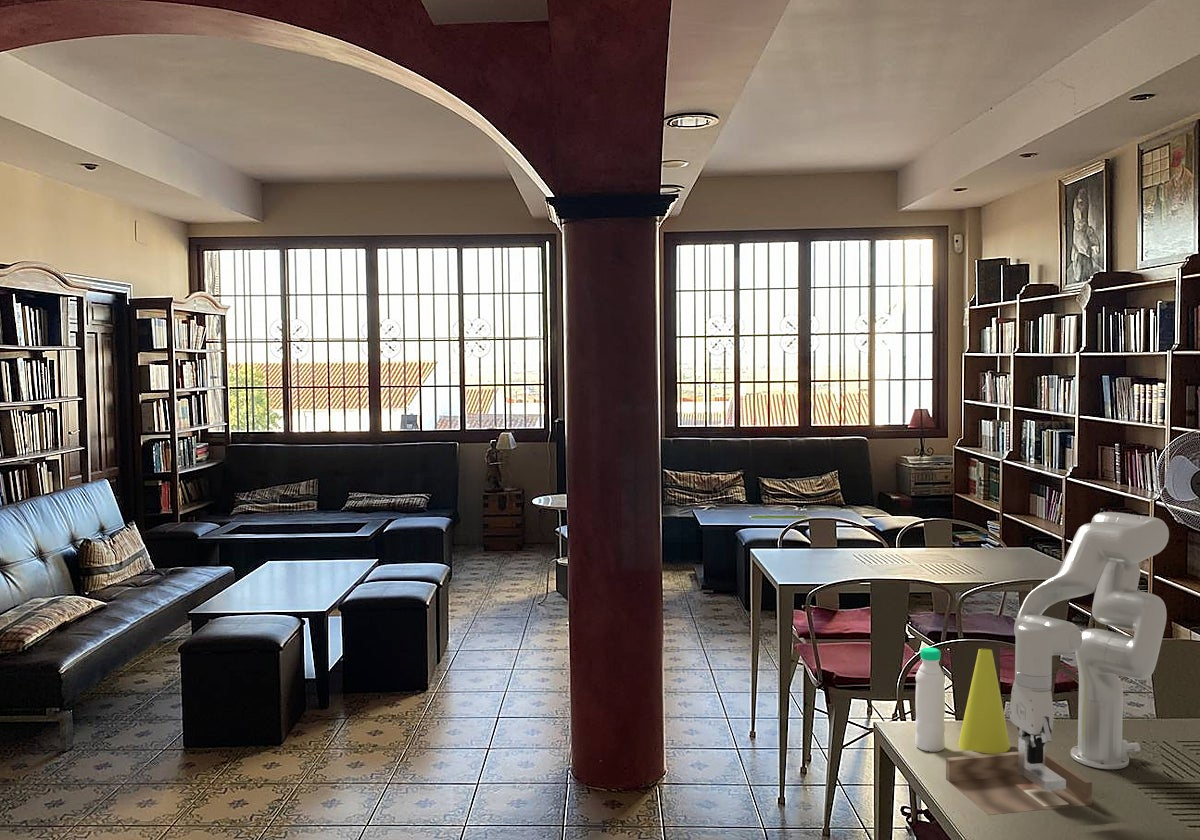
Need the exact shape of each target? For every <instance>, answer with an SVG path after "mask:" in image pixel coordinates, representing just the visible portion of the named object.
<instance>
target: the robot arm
mask: <svg viewBox="0 0 1200 840" xmlns="http://www.w3.org/2000/svg"><path fill="white" fill-rule="evenodd" d="M1169 538H1170V530H1169V527H1168V526H1167V524H1166V523H1165V521H1164V520H1163V519H1160V518H1158V517H1153V516H1148V515H1146V516H1145V515H1137V514H1131V513H1125V512H1117V511H1116V512H1115V511H1104V512H1098V513H1096V514H1095V515H1093V517H1092V518H1091V522H1088V523H1084V524H1083V525H1081V526H1080V527H1078V529H1077V531H1076V533H1075V534H1074V536H1073V540H1072V541H1071V544H1070V546H1069V548H1068V550H1067V553H1066V554H1065V557H1064V559H1063V562H1062V563H1061V565H1060V568H1059V570H1058V572H1057V573H1056V574H1055V575H1054V576H1052V577H1050V578H1048V579H1046V580H1045V581H1043V582H1042V583H1041V584H1039V585H1037V586H1036V587H1035V588H1034V589H1032V590H1031V591H1030V592H1029V593H1028V594H1027V596H1026V597H1025V598H1024V600H1023V603H1022V604H1021V606H1020V609H1019V611H1018V613H1017V616H1016V618H1015V621H1014V626H1013V632H1014V633H1013V634H1014V636H1015V648H1014V649H1015V651H1014V653H1015V654H1014V655H1015V658H1014V660H1015V661H1014V680H1013V684H1012V688H1011V693H1010V704H1009V721H1010V722H1011V723H1012V724H1013V725H1015V726H1016V727H1017V730H1018V738H1019V737H1025V736H1031V746H1029V761H1028V762H1029V763H1030V764H1038V763H1043V747H1044V746H1045V743H1046V744H1047V743H1052V742H1053V740H1052V736H1051V734H1052V733H1053V730H1054V705H1053V694H1052V687H1053V686H1052V683H1053V681H1052V680H1053V679H1052V678H1053V656H1066V655H1067V656H1068V655H1071V654H1073V653H1075V659H1076V664H1077V670H1078V715H1077V716H1078V717H1077V718H1078V719H1077V720H1078V721H1077V723H1078V724H1077V745H1075V746H1072V748H1071V749H1070V756H1071V757H1072V759H1073V760H1075V761H1076V762H1078V763H1080V764H1082V765H1085V766H1088V767H1091V768H1095V769H1102V770H1120V769H1124V768H1126V767H1128V766H1129V764H1130V758H1129V756H1128V755H1127V754H1129V752H1139V751H1141V745H1140V743H1139V742H1128V740H1127V739H1124V740H1123V719H1124V717H1123V715H1124V713H1123V711H1124V708H1123V707H1124V689H1123V686H1122V683H1121V680H1120V679H1119V677H1118V676H1121V677H1125V678H1128V679H1134V680H1138V681H1139V680H1140V681H1143V680H1147V679H1149V678H1150V677H1151V676H1152V675H1153V673H1154V671H1155V669H1156V667H1157V662H1158V660H1159V659H1158V658H1159V653H1160V650H1161V645H1162V642H1163V637H1164V634H1165V633H1164V632H1165V628H1166V625H1167V616H1168V615H1167V614H1168V613H1167V608H1166V604H1165V602H1164V600H1163V599H1162V598H1161V597H1160V596H1158V595H1156V594H1154V593H1150V592H1146V591H1141V590H1140V591H1139V590H1138V587H1139V582H1140V578H1141V568H1140V565H1139V563H1141V562H1143V561H1145V560H1147V559H1149V558H1152V557H1154V556H1156V555H1158V554H1160V553H1161V552H1162V551H1163V550H1164V549H1165V548H1166V546H1167V544H1168V542H1169ZM1094 592H1095V594H1094V596H1093V601H1092V607H1091V615H1092V617H1093V618H1094V620H1096V622H1098V623H1100V624H1103V625H1106V626H1108V627H1109V626H1110V627H1113V628H1116V629H1117V628H1118V629H1121V630H1128V631H1132V632H1134V633H1133V635H1134V636H1132V635H1127V634H1123V633H1119V632H1115V631H1110V630H1107V629H1101V628H1087V629H1084V630H1081V629H1080V628H1079V626H1078V625H1076V624H1074V623H1073V622H1072V621H1071V622H1070V621H1067V620H1063V619H1059V618H1055V617H1050V616H1047V615H1043V613H1044V612H1045V611H1046V610H1047V609H1048V608H1049V607H1050V606H1053V605H1054V604H1056V603H1058V602H1061V601H1065V600H1071V599H1075V598H1079V597H1083V596H1087V595H1090V594H1093V593H1094ZM1036 736H1040V737H1038V738H1037V739H1036ZM1045 747H1046V746H1045Z"/></svg>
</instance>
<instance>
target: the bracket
mask: <svg viewBox="0 0 1200 840" xmlns="http://www.w3.org/2000/svg"><path fill="white" fill-rule="evenodd" d="M1038 737H1040V736H1036V739H1037V738H1038ZM1017 744H1018V745H1017V746H1018V747H1017V748H1018V749H1017V750H1018V751H1017V752H1018V772H1019V773H1020V774H1022V775H1023V776H1024V777H1026V778H1027V779H1029V780H1030V781H1032V782H1033V783H1034V784H1036V785H1037V786H1039V787H1040V788H1041V789H1043V790H1044V791H1048V790H1060V789H1066V780H1065V779H1064V778H1062V777H1061V776H1059V775H1058V774H1056V773H1055V772H1053V771H1052V770H1050V769H1049V768H1047V767H1046V766H1045V752H1046V744H1047V742H1046V743H1045V746H1044V747H1043V763H1038V764H1030V763H1029V762H1028V761H1029V746H1031V736H1025V737H1019V736H1018V743H1017Z"/></svg>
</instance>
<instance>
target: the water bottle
mask: <svg viewBox="0 0 1200 840" xmlns="http://www.w3.org/2000/svg"><path fill="white" fill-rule="evenodd" d="M919 655H920V659H921V661H922V663H921V664H920V666H919V667H918V669H917V671H916V674H915V720H914V721H915V723H914V724H915V727H914V728H915V736H914V744H915V746H916V747H917V748H918V749H919V750H921V751H925V752H928V751H929V752H930V753H937V752H938V753H939V752H940V751H943V750H944V749H945V746H946V738H945V730H946V724H945V723H946V722H945V714H946V688H945V685H946V676H945V674H944V671H942V667H941V666H940V664H939V663H940V660H941V655H942V654H941V651H940V649H938V648H936V647H930V646H929V647H923V648H921V649H920V653H919ZM929 752H928V753H929Z"/></svg>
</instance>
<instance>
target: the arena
mask: <svg viewBox="0 0 1200 840" xmlns="http://www.w3.org/2000/svg"><path fill="white" fill-rule="evenodd" d="M1045 766H1046V767H1047V768H1049V769H1050V770H1052V771H1053V772H1055V773H1056V774H1058V775H1059V776H1061V777H1062V778H1064V779H1065V780H1066V789H1060V790H1048V791H1044V790H1043V789H1041V788H1040V787H1039V786H1037V785H1036V784H1034V783H1033V782H1032V781H1030V780H1029V779H1027V778H1026V777H1024V776H1023V775H1022V774H1020V773H1019V772H1018V751H1011V752H1010V751H1009V752H1008V751H1006V752H1003V753H995V754H991V753H984V754H975V755H964V756H962V755H961V756H952V757H945V780H946V781H947V782H949V783H950V784H951V785H953V787H954V788H955V789H957V790H958V791H959V792H960V793H962V794H963V795H964V796H965V797H967V799H969V800H970V801H971V802H973V803H974V804H975V805H976V806H977V807H978V808H980V810H982V811H983V812H984V813H986V814H987V815H988V816H991V815H992V816H994V815H1003V814H1004V815H1005V814H1015V813H1021V812H1023V813H1024V812H1033V811H1044V810H1045V811H1046V810H1054V809H1056V810H1057V809H1065V808H1066V809H1067V808H1073V807H1083V806H1085V807H1086V806H1092V803H1093V802H1092V800H1093V797H1092V795H1093V781H1092V780H1089V779H1088V778H1087V777H1085V776H1084V775H1082V774H1080V773H1078V771H1076V770H1075V769H1073V768H1071V767H1069V766H1068V765H1066V764H1065V763H1064V762H1062V761H1060V760H1059V759H1057V758H1056V757H1054V756H1053V755H1051V754H1049V752H1047V751H1045Z"/></svg>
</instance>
